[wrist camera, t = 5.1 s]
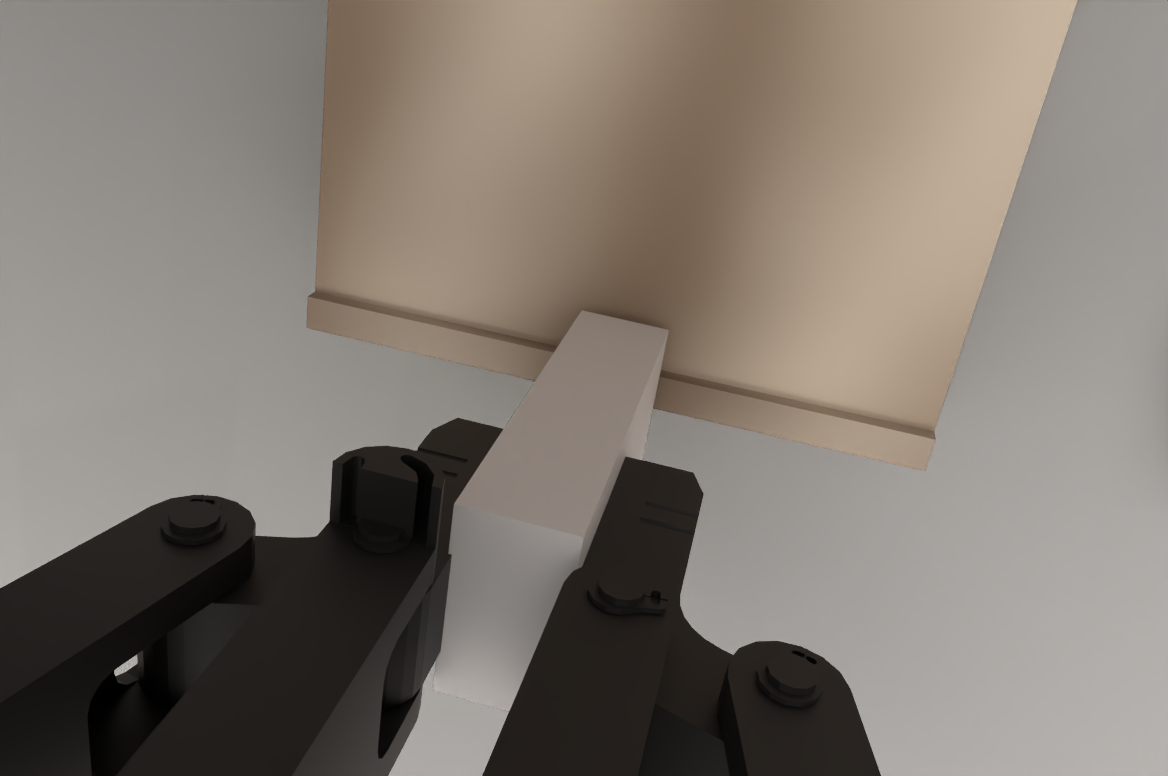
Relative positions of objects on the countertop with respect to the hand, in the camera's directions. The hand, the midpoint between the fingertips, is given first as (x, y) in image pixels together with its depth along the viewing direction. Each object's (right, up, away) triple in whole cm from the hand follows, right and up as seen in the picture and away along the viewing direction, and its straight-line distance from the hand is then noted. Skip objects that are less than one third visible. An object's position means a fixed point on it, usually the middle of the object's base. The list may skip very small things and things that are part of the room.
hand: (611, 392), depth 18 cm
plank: (+1, +4, 0) cm, 4 cm away
